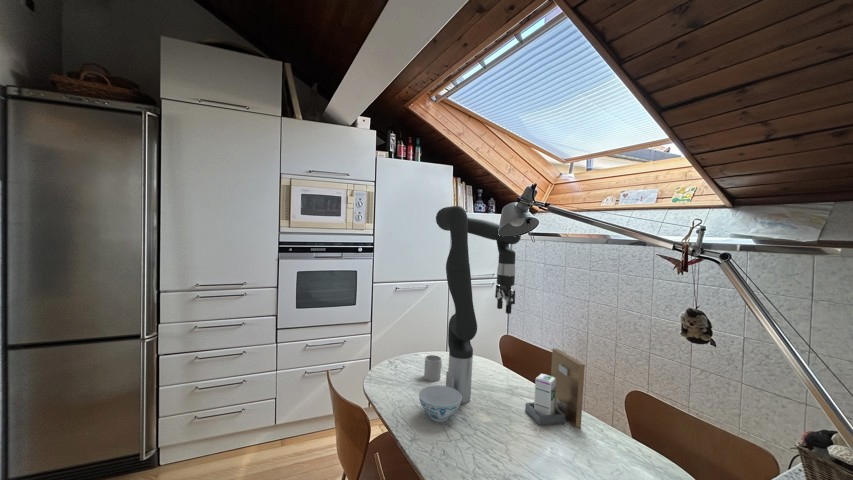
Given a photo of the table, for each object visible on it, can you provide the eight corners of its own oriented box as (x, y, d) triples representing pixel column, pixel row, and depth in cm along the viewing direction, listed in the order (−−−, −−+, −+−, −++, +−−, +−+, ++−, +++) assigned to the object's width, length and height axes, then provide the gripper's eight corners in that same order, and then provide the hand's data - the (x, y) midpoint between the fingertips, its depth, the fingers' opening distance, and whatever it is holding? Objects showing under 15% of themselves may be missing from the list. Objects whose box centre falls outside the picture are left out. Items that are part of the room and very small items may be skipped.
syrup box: (549, 423, 119) (552, 382, 118) (532, 417, 122) (535, 377, 122) (554, 416, 123) (557, 377, 123) (538, 411, 127) (540, 372, 126)
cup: (420, 378, 150) (421, 358, 150) (434, 371, 158) (435, 352, 158) (433, 383, 145) (435, 362, 145) (446, 376, 153) (448, 356, 153)
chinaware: (433, 433, 109) (435, 410, 109) (409, 412, 121) (411, 390, 121) (469, 421, 117) (470, 399, 117) (443, 402, 130) (444, 382, 129)
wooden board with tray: (544, 431, 114) (548, 366, 113) (521, 406, 129) (524, 349, 129) (580, 428, 117) (584, 364, 116) (553, 404, 132) (557, 348, 132)
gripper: (491, 271, 153) (489, 307, 153) (505, 275, 139) (503, 315, 139) (506, 272, 155) (504, 307, 155) (522, 276, 141) (519, 315, 141)
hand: (503, 311), depth 147 cm, fingers open, 8 cm apart
